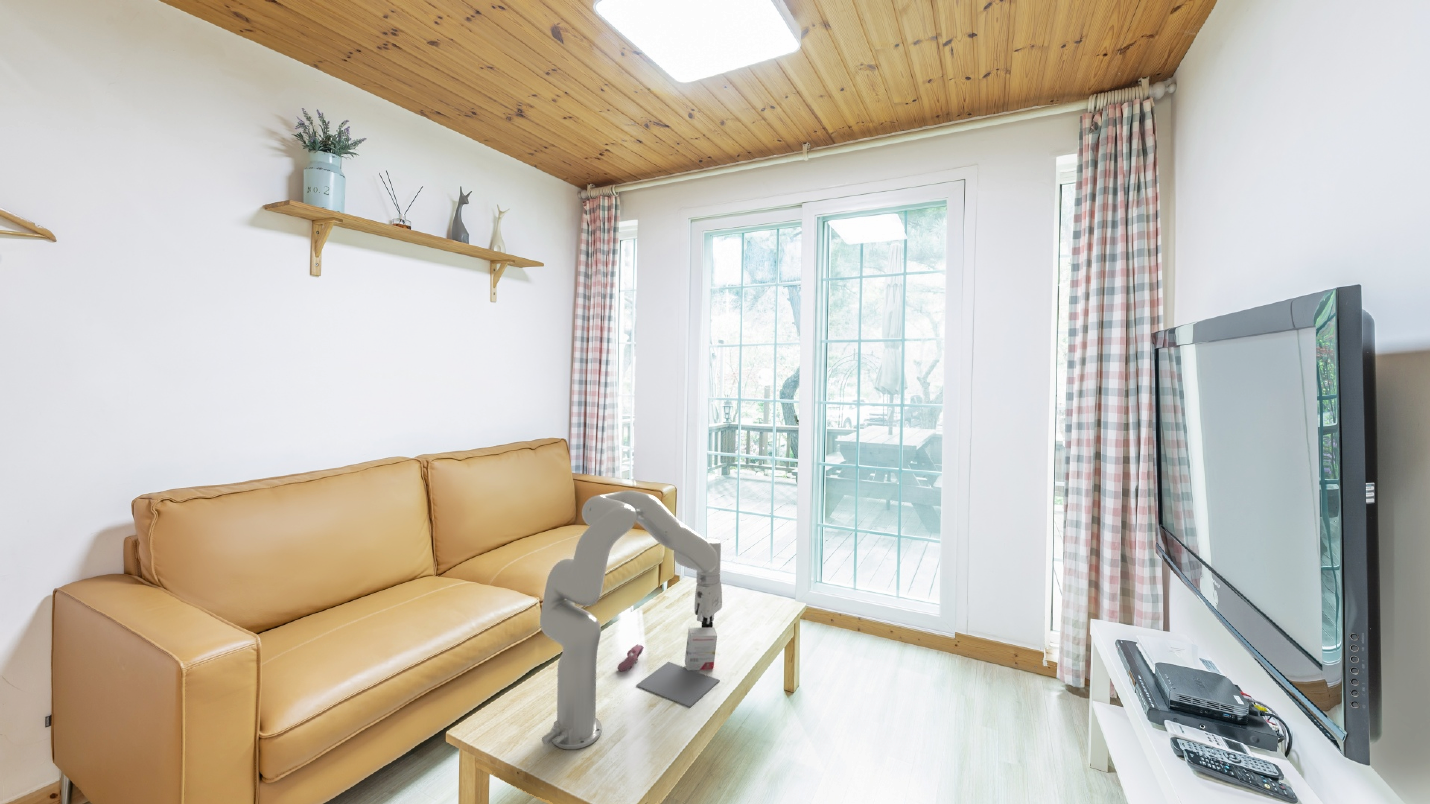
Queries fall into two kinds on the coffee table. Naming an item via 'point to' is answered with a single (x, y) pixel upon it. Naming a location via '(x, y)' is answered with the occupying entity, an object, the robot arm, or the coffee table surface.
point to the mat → (678, 684)
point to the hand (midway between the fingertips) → (706, 633)
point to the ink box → (700, 648)
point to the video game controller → (631, 658)
